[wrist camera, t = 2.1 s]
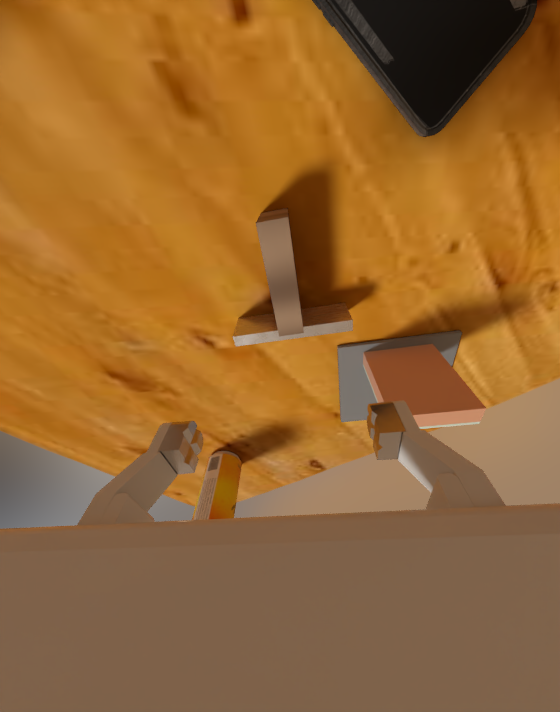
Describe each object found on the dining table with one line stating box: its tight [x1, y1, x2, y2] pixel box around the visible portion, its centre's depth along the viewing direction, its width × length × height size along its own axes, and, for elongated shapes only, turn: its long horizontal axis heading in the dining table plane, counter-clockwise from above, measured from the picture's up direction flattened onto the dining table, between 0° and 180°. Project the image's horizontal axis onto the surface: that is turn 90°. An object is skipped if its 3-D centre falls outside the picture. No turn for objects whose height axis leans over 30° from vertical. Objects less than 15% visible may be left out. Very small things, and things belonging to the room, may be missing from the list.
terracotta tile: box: [363, 344, 486, 429], centre depth 27 cm, size 2×8×10 cm, turn 100°
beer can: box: [192, 451, 242, 520], centre depth 40 cm, size 6×6×15 cm
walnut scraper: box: [233, 208, 353, 346], centre depth 24 cm, size 11×12×5 cm
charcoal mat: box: [338, 330, 462, 422], centre depth 34 cm, size 14×14×1 cm
